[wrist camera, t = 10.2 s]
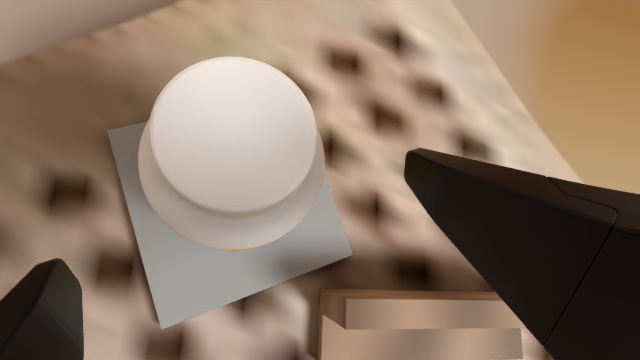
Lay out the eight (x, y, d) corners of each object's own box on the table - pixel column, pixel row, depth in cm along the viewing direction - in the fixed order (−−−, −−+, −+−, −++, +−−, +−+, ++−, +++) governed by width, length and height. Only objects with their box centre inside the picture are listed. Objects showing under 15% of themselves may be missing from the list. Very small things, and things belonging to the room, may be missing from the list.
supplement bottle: (307, 177, 19) (382, 96, 9) (259, 271, 17) (290, 293, 8) (215, 128, 18) (192, -15, 9) (156, 221, 17) (47, 175, 7)
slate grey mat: (349, 254, 19) (353, 254, 19) (163, 326, 16) (161, 329, 16) (293, 93, 20) (295, 89, 20) (110, 133, 18) (106, 130, 17)
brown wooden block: (507, 292, 21) (576, 301, 17) (512, 355, 20) (585, 381, 16) (320, 288, 18) (346, 298, 14) (317, 361, 18) (344, 394, 13)
